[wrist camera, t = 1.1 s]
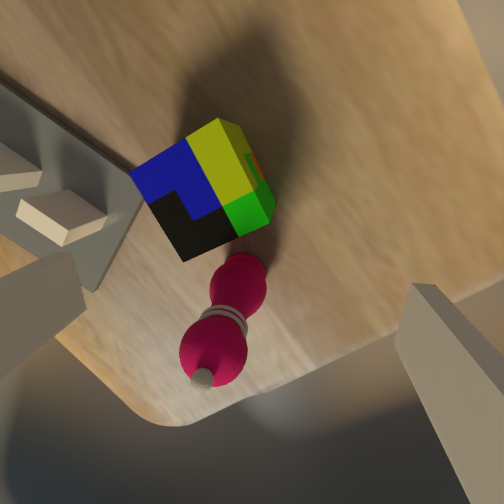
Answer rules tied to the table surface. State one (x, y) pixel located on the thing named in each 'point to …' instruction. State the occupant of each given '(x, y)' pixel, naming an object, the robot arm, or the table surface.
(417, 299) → the robot arm
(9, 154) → the tile
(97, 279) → the slate board
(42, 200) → the tile
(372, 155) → the table surface
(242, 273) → the pepper mill
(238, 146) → the puzzle toy
